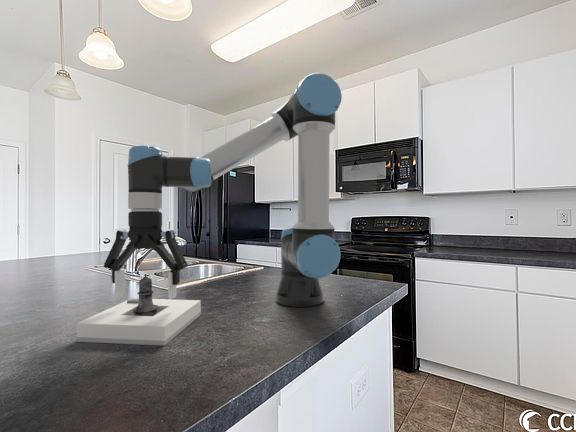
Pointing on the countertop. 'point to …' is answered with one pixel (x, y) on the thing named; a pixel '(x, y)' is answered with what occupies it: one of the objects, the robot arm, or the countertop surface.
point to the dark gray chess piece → (145, 299)
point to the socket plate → (139, 323)
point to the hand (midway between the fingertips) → (145, 297)
